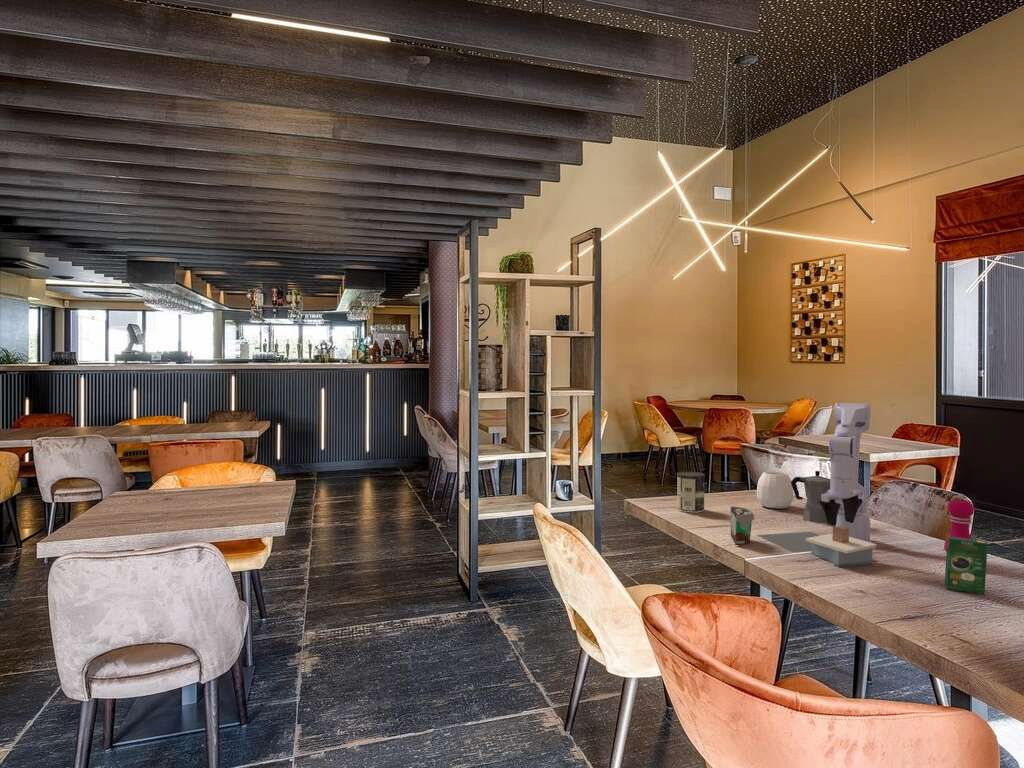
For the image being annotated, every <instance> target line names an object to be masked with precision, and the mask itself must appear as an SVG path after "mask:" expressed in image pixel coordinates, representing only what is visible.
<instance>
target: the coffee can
mask: <svg viewBox="0 0 1024 768" xmlns="http://www.w3.org/2000/svg"><path fill="white" fill-rule="evenodd" d="M705 476H706V475H705V473H703V472H697V471H679V472H676V477H677V479H676V481H677V485H676V486H677V488H676V489H677V490H676V494H677V495H676V503H677V504H676V510H677V509H678V510H677V511H679V510H680V511H679V512H681V511H683V512H682V513H686V512H691V513H690V514H699V512H701V513H704V512H705V478H706V477H705ZM703 511H704V512H703Z"/></svg>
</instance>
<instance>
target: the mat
mask: <svg viewBox="0 0 1024 768" xmlns="http://www.w3.org/2000/svg"><path fill="white" fill-rule="evenodd" d="M815 536H820V534H817V533H814V532H812V531H801V532H800V531H799V532H788V533H787V532H786V533H785V532H784V533H770V534H766V533H765V534H756V537H759V538H762V539H763V540H767V541H768V542H770V543H772V544H774V545H777V546H778V547H781V548H782V549H784V550H787V551H790V552H791V553H797V552H798V553H800V552H811V545H812V543H811V542H807V541H806V538H810V537H815Z"/></svg>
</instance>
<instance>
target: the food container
mask: <svg viewBox="0 0 1024 768" xmlns="http://www.w3.org/2000/svg"><path fill="white" fill-rule="evenodd" d="M753 521H755V516H754V513H753V511H752V510H751V509H749V508H746V507H739V506H730V537H731V538H732V541H733V542H734V543H735V544H734V543H733V544H734V546H735V545H740V546H742V545H743V546H744V545H748V544H750V542H751V534H752V533H751V532H752V524H753V523H752V522H753Z"/></svg>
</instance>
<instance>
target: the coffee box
mask: <svg viewBox="0 0 1024 768" xmlns="http://www.w3.org/2000/svg"><path fill="white" fill-rule="evenodd" d="M947 537H948V540H947V552H946V555H945V569H944V570H945V572H944V576H945V577H944V587H945V586H946V587H945V589H946V588H947V589H946V590H951V589H952V590H951V591H955V590H960V591H959V592H964V591H966V593H972V594H975V593H976V595H977V594H978V595H985V594H986V593H985V592H986V579H987V577H986V575H987V559H988V543H987V541H986V540H980V539H966V538H958V537H951V536H949V535H947Z"/></svg>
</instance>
